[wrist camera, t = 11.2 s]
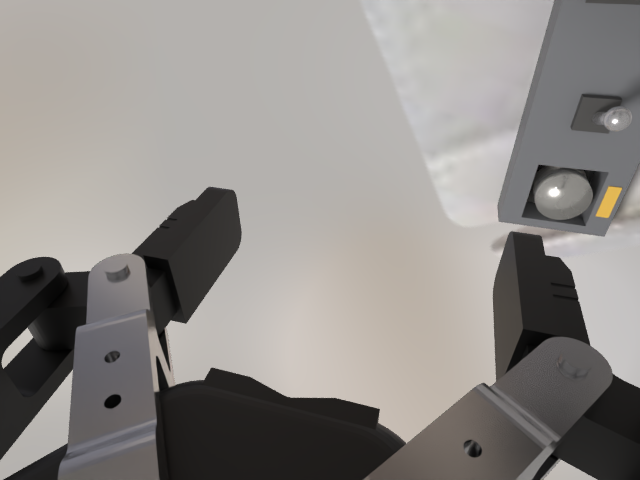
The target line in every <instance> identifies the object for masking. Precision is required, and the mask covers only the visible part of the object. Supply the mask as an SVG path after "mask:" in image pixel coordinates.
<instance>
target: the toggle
mask: <svg viewBox="0 0 640 480" xmlns="http://www.w3.org/2000/svg"><path fill="white" fill-rule="evenodd" d="M631 120H632V114H631V112H630V110H628V109H627V108H625V107H621V106H618V107H614V108H611V109H610V110H608V111H607V112H597V113H595V114H594V115H593V117H592V121H593V123H595V124H598V125H604V126H605V127H606V128H607V129H608V130H610V131H621V130H623V129H625V128H626V127H628V126H629V124H630V123H631Z"/></svg>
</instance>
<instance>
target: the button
mask: <svg viewBox="0 0 640 480" xmlns="http://www.w3.org/2000/svg"><path fill="white" fill-rule="evenodd" d="M532 189H533V194H534V199H535V204H536V207H537V209H538V211H539V212H540V213H541V214H543V215H544V216H546V217H548V218H551V219H555V220H565V219H570V218H573V217H576V216H578V215H580V214H581V213H583V212H584V211H585V210H586V209H587V208H588V207H589V205H590V203H591V201H592V198H593V192H592V189H591V186H590V184H589V181H588V179H587V176H586V174H585V172H584V170H583V169H574V168H565V167H557V166H548V165H547V166H545V167H543V168H542V169H541V170H539V171H538V173H537V174H536V175H535V177H534V180H533V183H532Z"/></svg>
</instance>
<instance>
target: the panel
mask: <svg viewBox="0 0 640 480" xmlns="http://www.w3.org/2000/svg"><path fill="white" fill-rule="evenodd" d="M618 106H621V107H625V108H627V109H628V110H630V112H631V114H632V120H631V123H630V124H629V126H628V127H626V128H625V129H623V130H621V131H610V130H608V129H607V128H606V127H605V126H604V125H598V124H595V123H593V121H592V117H593V115H594V114H595V113H597V112H607V111H608V110H610V109H611V108H614V107H618ZM639 163H640V0H555V1H554V5H553V8H552V12H551V15H550V19H549V22H548V26H547V30H546V33H545V37H544V40H543V44H542V48H541V51H540V55H539V58H538V62H537V66H536V69H535V73H534V76H533V80H532V83H531V87H530V91H529V94H528V98H527V101H526V105H525V109H524V112H523V116H522V119H521V123H520V126H519V130H518V134H517V137H516V141H515V144H514V148H513V152H512V155H511V159H510V162H509V166H508V169H507V173H506V177H505V180H504V184H503V187H502V191H501V195H500V198H499V202H498V218H499V222H506V223H513V224H520V225H527V226H534V227H541V228H548V229H555V230H561V231H568V232H575V233H582V234H589V235H596V236H603V237H604V236H605V234H606V232H607V230H608V228H609V226H610V224H611V222H612V220H613V217H614V215H615V213H616V211H617V209H618V207H619V205H620V203H621V201H622V199H623V196H624V194H625V192H626V190H627V188H628V186H629V184H630V182H631V180H632V178H633V175H634V173H635V171H636V169H637V167H638V165H639ZM538 164H539V165H548V166H557V167H565V168H574V169H583V170H592V171H595V173H594V175H593V177H592V180H591V182H590V186H591V189H592V192H593V198H592V201H591V203H590V205H589V207H588V208H587V209H586V210H585V211H584V212H583V213H581V214H580V215H578V216H576V217H573V218H570V219H565V220H555V219H551V218H548V217H546V216H544V215H543V214H541V213H540V212H539V211H538V209H537V207H536V204H535V203H533V202H526V201H527V198H528V195H529V192H530V189H531V186H532V183H533V180H534V177H535V174H536V170H537V167H538Z"/></svg>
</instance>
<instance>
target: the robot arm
mask: <svg viewBox="0 0 640 480" xmlns="http://www.w3.org/2000/svg"><path fill="white" fill-rule="evenodd" d="M240 242H241V225H240V218H239V211H238V204H237V197H236V194H235V192H234V191H233V190H229V189H222V188H215V187H208V188H207V189H206V190H205V191H204V192H203V193H202V194H201V195H200V196H199V197H198V198H197V199H196V200H191V201H189V202H188V203H185V204H183V205H182V206H180V207H178V208H177V209H176V210H175V211H174V212H173V213H172V214H171V215H170V216H169V217H168V219H167V220H165V221H164V222H163V223H162V224H161V225H160V227H159V228H157V229H156V230H155V231H154V232H153V233H152V234H151V235H150V236H149V237H148V238H147V239H146V240H145V241H144V242H143V243H142V244H141V245H140V246H139V247H138V248H137V249H136V250H135V251H134V252H133V253H132V254H119V255H114V256H111V257H108V258H106V259H104V260H102V261H100V262H99V263H97V264H96V265H95V266H94V267H93V268H92V270H91V271H87V272H68V273H64V270H63V268H62V266H61V264H60V263H59V261H58V260H56V259H54V258H50V257H38V258H33V259H29V260H26V261H24V262H21V263H19V264H17V265H15V266H14V267H12V268H11V269H10V270H8V271H7V272H6V273H5V274H3V275H2V276H1V277H0V460H1V459H2V457H3V456H4V455H5V454H6V452H7V451H8V450H9V448H10V447H11V446H12V445H13V443H14V442H15V441H16V439H17V438H18V437H19V436H20V435H21V433H22V432H23V431H24V430H25V428H26V427H27V426H28V425H29V423H30V422H31V421H32V420H33V418H34V417H35V416H36V415H37V413H38V412H39V411H40V410H41V408H42V407H43V406H44V404H45V403H46V402H47V401H48V400H49V398H50V397H51V396H52V395H53V393H54V392H55V391H56V390H57V388H58V387H59V386H60V385H61V383H62V382H63V381H64V380H65V378H66V377H67V376H68V374H69V373H70V372H71V371H72V369H73V378H72V393H71V407H70V421H69V435H68V443H67V444H66V445H64V446H62V447H60V448H59V449H57V450H55V451H53V452H51V453H50V454H48V455H46V456H44V457H43V458H41V459H39V460H37V461H36V462H34V463H32V464H31V465H28V466H27V467H25V468H23V469H21V470H20V471H18V472H16V473H14V474H13V475H11V476H9V477H7V478H6V479H4V480H543V479H544V478H545V477H546V476H547V474H549V472H550V471H551V470H552V469H553V468H554V467H555V466H556V464H558V462H559V461H560V460H563V461H565V462H567V463H568V464H570V465H572V466H574V467H576V468H578V469H580V470H581V471H583V472H585V473H587V474H588V475H590V476H592V477H594V478H596V479H598V480H640V388H638V387H636V386H634V385H632V384H629V383H627V382H625V381H623V380H622V379H620V378H618V377H616V376H615V375H614V374H613V373H612V369H611V367H610V365H609V363H608V362H607V360H606V359H605V358H604V357H603V356H602V355H601V354H600V353H599V352H598V351H597V350H595V349H594V348H593V347H591V346H590V342H589V338H588V334H587V330H586V327H585V323H584V319H583V315H582V311H581V307H580V304H579V302H578V295H577V292H576V289H575V283H574V280H573V276H572V272H571V271H570V269H569V268H568V267H567V266H566V265H565V264H564V262H563V261H562V260H561V259H560V258H559V257H553V256H546V255H545V251H544V246H543V241H542V237H541V236H540V235H533V234H526V233H519V232H512V231H511V232H510V233H509V235H508V238H507V241H506V244H505V247H504V251H503V254H502V257H501V260H500V264H499V267H498V270H497V274H496V277H495V282H494V288H493V310H494V311H493V312H494V337H495V363H496V382H495V383H494V384H493V385H492V386H490V387H489V386H488V385H486V384H485V383H481V384H479V385H477V386H476V387H474V388H473V389H472V390H471V391H470V392H469V393H467V394H466V395H465V396H463V397H462V398H461V399H460V400H459V401H458V402H456V403H455V404H454V405H453V406H451V407H450V408H449V409H448V410H447V411H445V412H444V413H443V414H442V415H441V416H439V417H438V418H437V419H436V420H435V421H433V422H432V423H431V424H430V425H428V426H427V427H426V428H425V429H424V430H422V431H421V432H420V433H419V434H418V435H416V436H415V437H414V438H413V439H412V440H411V441H409V442H408V443H407V444H406V442H404V441H403V440H402V439H401V438H400V437H399V436H397V435H396V434H395V433H394V432H392V431H391V430H389V429H388V428H386V427H384V426H382V425H381V424H379V423H378V418H379V411H380V409H377V408H373V407H369V406H365V405H361V404H357V403H353V402H349V401H345V400H341V399H337V398H290V397H286V396H284V395H282V394H280V393H278V392H276V391H275V390H273V389H271V388H269V387H267V386H265V385H263V384H262V383H260V382H258V381H256V380H255V379H253V378H251V377H248V376H244V375H240V374H236V373H232V372H227V371H223V370H219V369H215V368H211V369H210V371H209V373H208V374H207V376H206V378H205V380H198V381H190V382H185V383H181V384H177V385H175V380H174V374H173V367H172V360H171V353H170V346H169V339H168V333H167V330H166V326H167V325H168V323H169V322H170V320H172V321H177V322H182V323H187V322H188V320H189V319H190V317H191V316H192V314H193V313H194V312H195V310H196V309H197V307H198V306H199V304H200V303H201V301H202V300H203V299H204V297H205V295H206V294H207V293H208V292H209V290H210V289H211V287H212V286H213V284H214V283H215V282H216V280H217V278H218V277H219V275H220V274H221V273H222V271H223V270H224V268H225V267H226V266H227V264H228V263H229V261H230V260H231V259H232V257H233V256H234V254H235V253H236V251H237V250H238V248H239V245H240ZM27 327H28V329H29V331H30V332H31V334H32V336H33V339H32V340H31V341H30V342H29V343H28V344H27V345H26V346H25V347H24V348H23V349H22V350H21V351H20V352H19V353H18V354H17V356H15V358H14V359H13V360H12V361H11V362H10V363H9V364H8V365H7V366H6V367H5V368H4V369H3V368H2V363H1V362H2V357H3V354H4V352H5V350H6V349H7V348H8V346H10V345H11V344H12V342H13V341H14V340H15V339H16V338H17V337H18V336H19V335H20V334H21V333H22V332H23V331H24V330H25V329H26V328H27Z"/></svg>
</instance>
